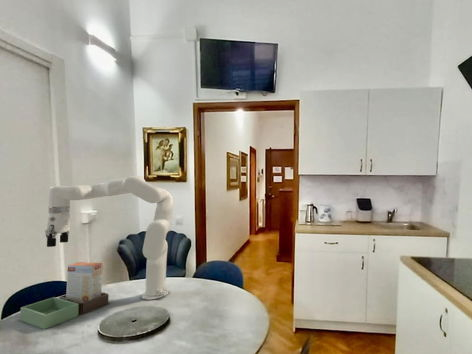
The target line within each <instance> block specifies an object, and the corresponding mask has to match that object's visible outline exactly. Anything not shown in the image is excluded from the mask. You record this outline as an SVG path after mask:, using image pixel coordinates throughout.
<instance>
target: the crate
mask: <svg viewBox="0 0 472 354" xmlns="http://www.w3.org/2000/svg"><path fill="white" fill-rule="evenodd" d="M109 296H110V295H109V293H106V292H104V291H101V297H98V298H95V299H92V300H90V301H87V302H84V303H82V302H78V301H75V300H71V299H68V298H66V294H64V295H60V296H58V298H60V299H63V300H67V301H70V302H74V303H77V304H79V307H78V315H85V314H87V313H89V312H92V311H94V310H98V309H100V308H102V307H105V306H107V305H109Z"/></svg>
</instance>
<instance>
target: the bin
mask: <svg viewBox="0 0 472 354" xmlns="http://www.w3.org/2000/svg"><path fill="white" fill-rule="evenodd" d="M78 307H79V304H77V303H74V302H70V301H67V300H63V299H60V298H59V297H56V296H53V297H50V298H46V299H44V300H40V301H37V302H34V303H31V304H27V305H25V306H21V307H20V311H19V312H20V315H19V321H20V322H24V323H26V324H29V325H32V326H34V327H37V328H40V329H43V330H47V329H49V328H51V327H54V326H56V325H59V324H61V323H65V322H67V321H69V320H71V319H74V318H76V317H79V314H78Z"/></svg>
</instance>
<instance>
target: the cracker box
mask: <svg viewBox="0 0 472 354" xmlns="http://www.w3.org/2000/svg"><path fill="white" fill-rule="evenodd" d="M103 266H104V263H103V262H85V261H84V262H81V261H78V262H75V263H71V264H68V265H67V273H66V274H67V275H66V291H65V293H66V294H65V295H66V298H68V299H71V300H75V301H78V302H82V303H84V302H87V301H90V300H92V299H95V298H98V297H101V292H103V291H102V290H103V289H102V287H103V269H104V268H103Z"/></svg>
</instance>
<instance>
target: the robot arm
mask: <svg viewBox="0 0 472 354" xmlns="http://www.w3.org/2000/svg"><path fill="white" fill-rule="evenodd" d="M48 191H49V192H48V218H47V225H46V229H45V230H44V232H45V237H46V247H47V248H53V247H56V246H57V235H58V234H60V235H59V243H68V242H69V234H70V230H71V214H70V213H71V212H70V211H71V210H70V209H71V201H82V200H83V201H85V200H91V199H97V198H102V197H103V198H104V197H112V196H119V195H125V194H131V195H133V196H135V197H137V198H139V199H141V200H142V201H145V202H147V203H150V204H156V206H155V207H156V208H155V211H154V217H153V220H152V222H151V223H150V224H148V225H147V228H146V230H145V235H144V241H143V246H142V254H143V257H144V258H146V267H145V268H146V269H145V291H144V293H142V294H141V298H142V299H143V300H148V301H149V300H151V301H152V300H156V299H161V298H163V297H165V296H167V295H168V294H169V292H170V289H168V286H167V285H166V283H167V261H168V259H167V258H168V247H169V243H168V241H167V240H166V238H167V234H168V233H169V231H170V229H171V223H172V218H173V217H172V216H173V211H174V204H175V203H174V198H173V196H172V194H171V193H170V192H169V191H168V190H167V189H165V188H163V187H160V186H159V187H157V186H154V185H153V184H150V183H149V182H147V181H146V179H145V178H143V177H142V176H139V175H130V176H127V177H122V178H115V179H108V180H106V181H105V182H100V183H95V184H87V185H52V186H50V187H49V189H48Z"/></svg>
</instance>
